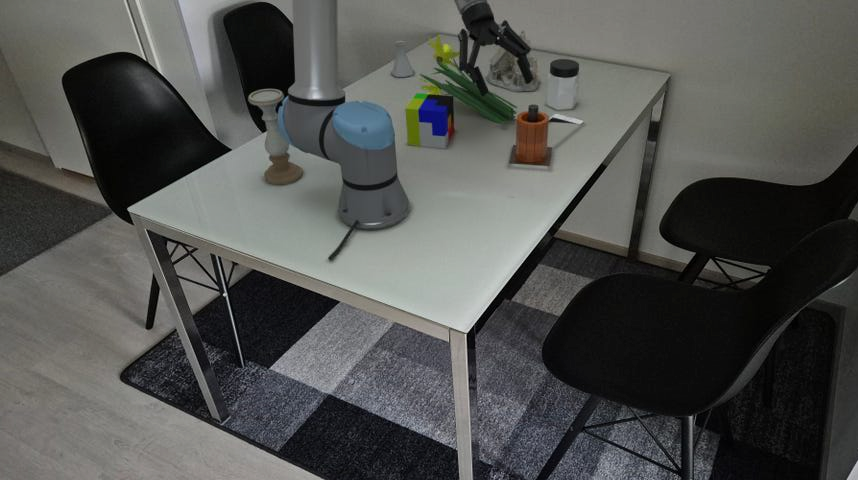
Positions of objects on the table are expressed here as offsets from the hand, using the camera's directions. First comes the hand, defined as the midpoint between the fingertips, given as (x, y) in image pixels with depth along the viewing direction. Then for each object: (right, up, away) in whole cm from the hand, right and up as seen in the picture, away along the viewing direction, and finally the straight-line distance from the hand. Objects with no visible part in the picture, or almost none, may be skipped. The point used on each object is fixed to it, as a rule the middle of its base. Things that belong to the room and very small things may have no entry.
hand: (508, 87), depth 155 cm
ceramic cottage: (+3, +14, +43) cm, 45 cm away
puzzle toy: (-20, -10, +12) cm, 25 cm away
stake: (+6, -17, +2) cm, 18 cm away
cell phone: (+13, -8, +14) cm, 21 cm away
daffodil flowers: (-10, +1, +26) cm, 28 cm away
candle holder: (-54, -23, -4) cm, 59 cm away
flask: (-32, +18, +48) cm, 61 cm away
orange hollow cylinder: (+6, -16, +2) cm, 17 cm away
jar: (+17, +3, +29) cm, 34 cm away
